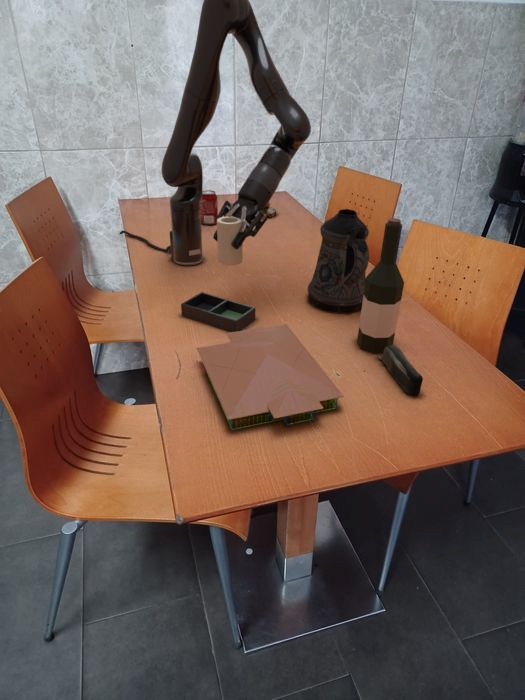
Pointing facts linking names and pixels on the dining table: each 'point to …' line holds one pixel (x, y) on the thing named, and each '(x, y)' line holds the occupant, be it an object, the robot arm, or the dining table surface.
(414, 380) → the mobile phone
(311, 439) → the dining table surface
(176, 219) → the robot arm
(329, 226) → the beer stein
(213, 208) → the soda can
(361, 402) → the dining table surface
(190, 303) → the tray
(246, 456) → the dining table surface
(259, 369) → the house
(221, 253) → the jar
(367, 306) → the wine bottle
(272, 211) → the plate of food
